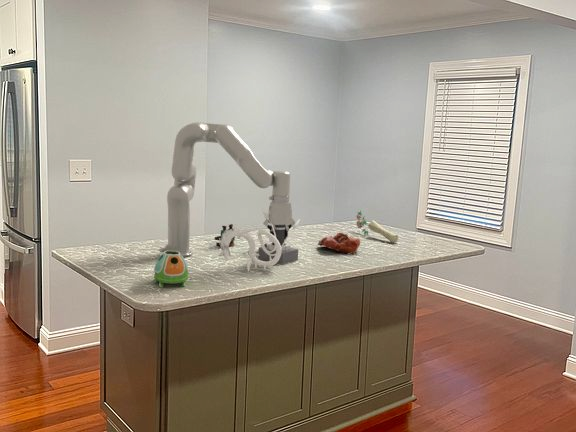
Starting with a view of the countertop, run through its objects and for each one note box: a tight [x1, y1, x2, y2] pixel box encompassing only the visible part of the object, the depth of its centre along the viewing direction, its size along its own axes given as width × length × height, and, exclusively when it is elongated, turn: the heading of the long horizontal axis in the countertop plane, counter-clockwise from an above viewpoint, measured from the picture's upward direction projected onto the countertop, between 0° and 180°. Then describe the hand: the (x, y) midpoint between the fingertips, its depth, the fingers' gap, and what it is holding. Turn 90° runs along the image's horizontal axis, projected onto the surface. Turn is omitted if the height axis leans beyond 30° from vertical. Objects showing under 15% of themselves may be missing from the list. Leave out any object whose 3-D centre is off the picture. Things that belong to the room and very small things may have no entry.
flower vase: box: [355, 210, 399, 244], centre depth 317 cm, size 12×12×35 cm
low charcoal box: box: [257, 241, 299, 265], centre depth 255 cm, size 11×14×7 cm
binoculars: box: [214, 223, 236, 247], centre depth 278 cm, size 9×11×10 cm
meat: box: [317, 232, 361, 254], centre depth 280 cm, size 21×21×10 cm
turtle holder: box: [153, 251, 189, 288], centre depth 212 cm, size 12×18×12 cm
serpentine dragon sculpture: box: [217, 208, 302, 272], centre depth 239 cm, size 43×20×25 cm, turn 117°
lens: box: [273, 225, 285, 246], centre depth 254 cm, size 5×5×10 cm
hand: (278, 238), depth 254 cm, fingers closed on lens, 5 cm apart
